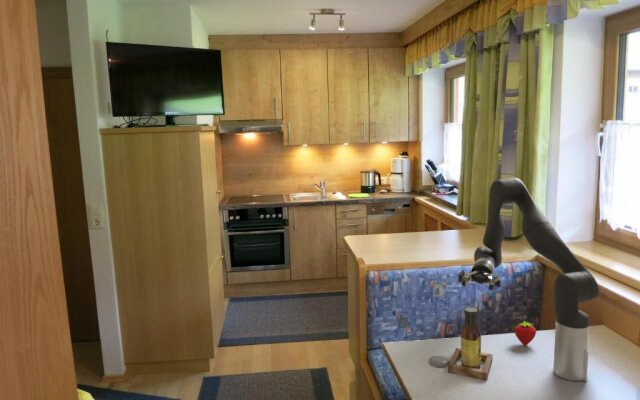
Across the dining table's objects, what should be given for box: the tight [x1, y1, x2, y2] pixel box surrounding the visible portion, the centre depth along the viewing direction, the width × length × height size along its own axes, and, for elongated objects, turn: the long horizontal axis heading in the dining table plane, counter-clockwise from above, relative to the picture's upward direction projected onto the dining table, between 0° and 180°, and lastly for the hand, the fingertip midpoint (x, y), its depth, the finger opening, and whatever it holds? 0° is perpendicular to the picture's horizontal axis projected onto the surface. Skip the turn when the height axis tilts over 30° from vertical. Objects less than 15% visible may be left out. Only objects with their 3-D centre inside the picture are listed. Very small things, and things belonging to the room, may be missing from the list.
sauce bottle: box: [460, 307, 482, 370], centre depth 153 cm, size 6×6×20 cm
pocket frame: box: [447, 347, 493, 381], centre depth 154 cm, size 12×13×2 cm
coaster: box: [428, 355, 451, 369], centre depth 158 cm, size 7×7×1 cm
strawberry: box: [514, 318, 537, 346], centre depth 167 cm, size 6×8×10 cm
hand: (477, 285), depth 160 cm, fingers open, 8 cm apart
